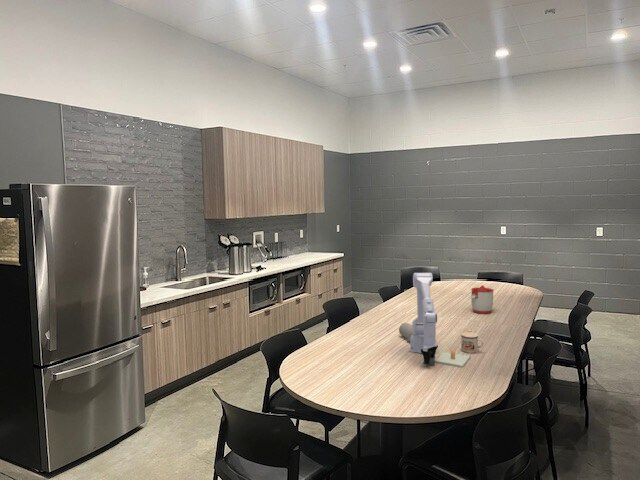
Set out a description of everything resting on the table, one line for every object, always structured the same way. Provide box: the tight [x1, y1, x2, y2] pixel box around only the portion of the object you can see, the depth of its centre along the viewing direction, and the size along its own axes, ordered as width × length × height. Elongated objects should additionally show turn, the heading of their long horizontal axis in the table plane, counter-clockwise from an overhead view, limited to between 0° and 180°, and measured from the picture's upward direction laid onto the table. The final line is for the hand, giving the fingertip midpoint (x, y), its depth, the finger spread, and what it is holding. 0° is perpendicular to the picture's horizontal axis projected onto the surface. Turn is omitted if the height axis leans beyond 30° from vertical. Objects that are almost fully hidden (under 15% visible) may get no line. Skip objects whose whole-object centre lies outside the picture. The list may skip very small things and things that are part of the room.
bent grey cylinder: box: [398, 322, 413, 343], centre depth 282 cm, size 18×11×20 cm
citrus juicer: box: [470, 285, 494, 315], centre depth 345 cm, size 16×17×20 cm
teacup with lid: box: [460, 329, 485, 354], centre depth 261 cm, size 12×9×12 cm
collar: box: [423, 355, 436, 367], centre depth 242 cm, size 6×6×4 cm
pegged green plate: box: [435, 348, 471, 368], centre depth 246 cm, size 14×16×6 cm
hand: (429, 361), depth 242 cm, fingers open, 7 cm apart
